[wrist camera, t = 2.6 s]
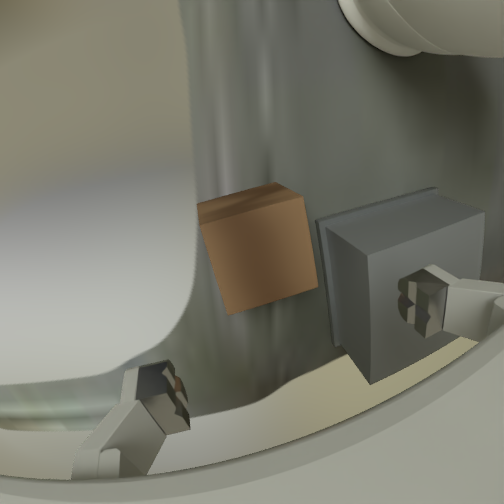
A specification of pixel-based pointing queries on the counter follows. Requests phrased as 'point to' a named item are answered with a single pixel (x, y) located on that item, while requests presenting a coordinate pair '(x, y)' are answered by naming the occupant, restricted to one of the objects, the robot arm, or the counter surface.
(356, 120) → the counter surface
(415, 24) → the jar
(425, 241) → the pedestal
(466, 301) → the robot arm
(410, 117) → the counter surface
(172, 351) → the counter surface
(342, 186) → the counter surface
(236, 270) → the cube
